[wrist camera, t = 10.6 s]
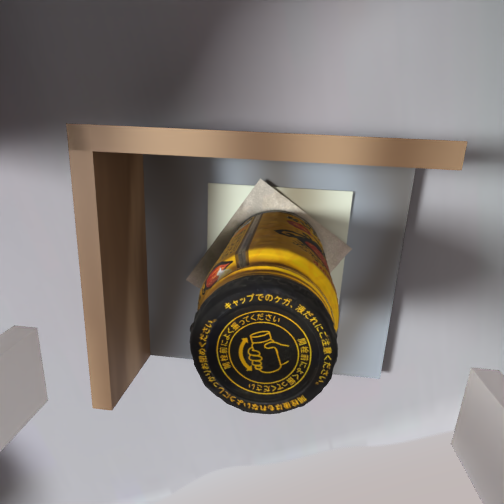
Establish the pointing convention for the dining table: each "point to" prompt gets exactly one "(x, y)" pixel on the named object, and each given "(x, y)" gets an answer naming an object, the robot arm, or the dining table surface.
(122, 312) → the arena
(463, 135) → the dining table surface
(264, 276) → the condiment
